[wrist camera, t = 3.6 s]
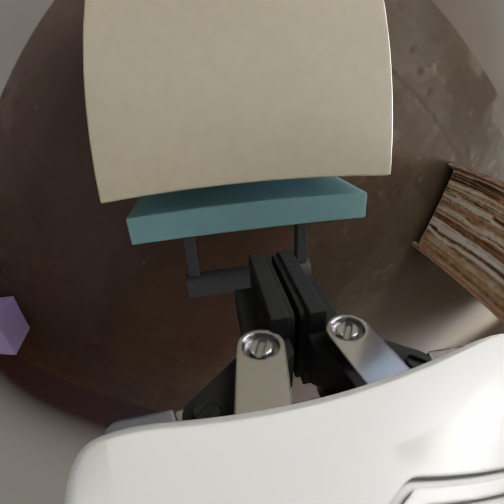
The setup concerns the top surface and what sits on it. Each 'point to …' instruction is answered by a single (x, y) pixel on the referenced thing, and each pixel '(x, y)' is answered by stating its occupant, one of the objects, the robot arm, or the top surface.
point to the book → (470, 235)
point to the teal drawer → (241, 220)
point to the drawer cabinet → (234, 92)
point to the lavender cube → (11, 326)
